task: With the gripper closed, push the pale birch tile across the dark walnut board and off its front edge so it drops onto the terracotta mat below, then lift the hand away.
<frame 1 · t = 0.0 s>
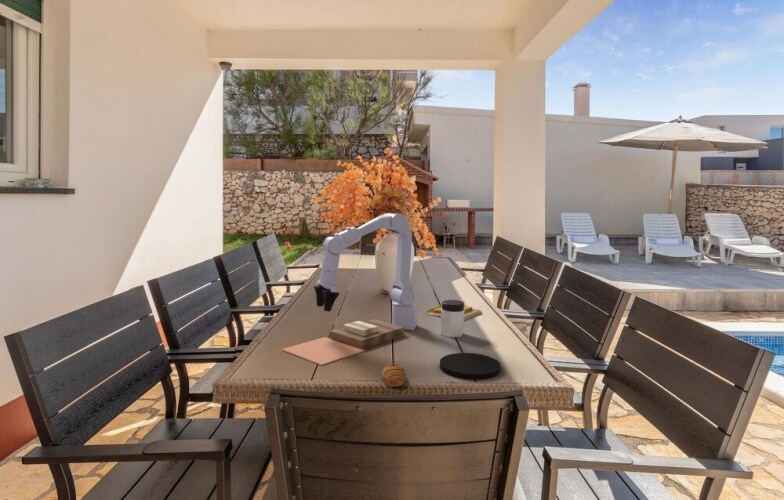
hand: (323, 308, 167), 11 cm above the table, tool pointing down, fingers open, 7 cm apart
walnut board: (367, 337, 170), on the table
birch tile: (360, 330, 167), point 3 cm above the table, touching walnut board
wooden puzzle: (453, 315, 204), on the table
jar: (452, 334, 174), on the table
pastry: (394, 381, 131), on the table
wireless charger: (469, 369, 141), on the table
terracotta mat: (323, 350, 155), on the table
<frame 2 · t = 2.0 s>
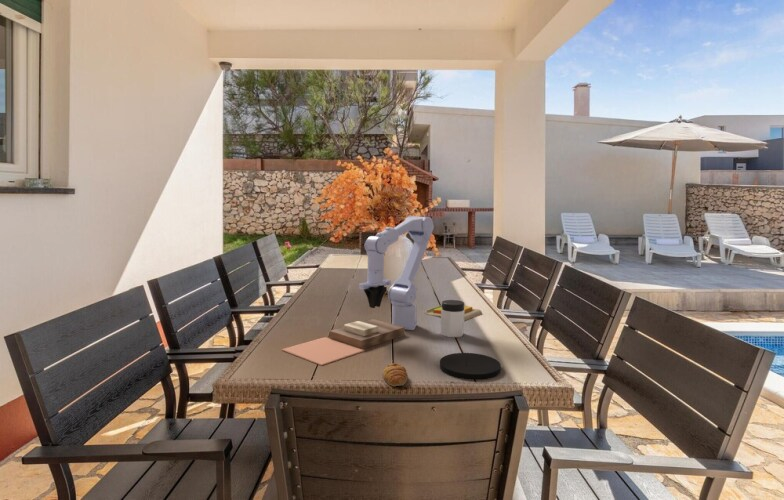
hand: (374, 306, 171), 10 cm above the table, tool pointing down, fingers closed
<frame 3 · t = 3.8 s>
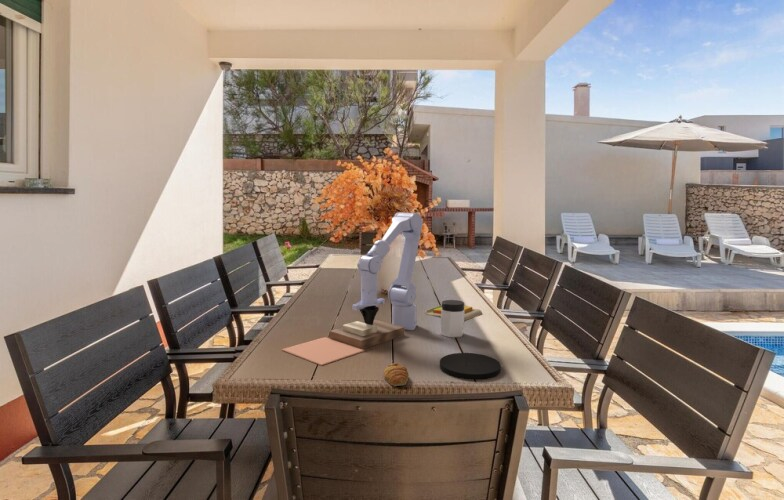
hand: (368, 326, 170), 4 cm above the table, tool pointing down, fingers closed
birch tile: (359, 331, 166), point 3 cm above the table, touching gripper, walnut board
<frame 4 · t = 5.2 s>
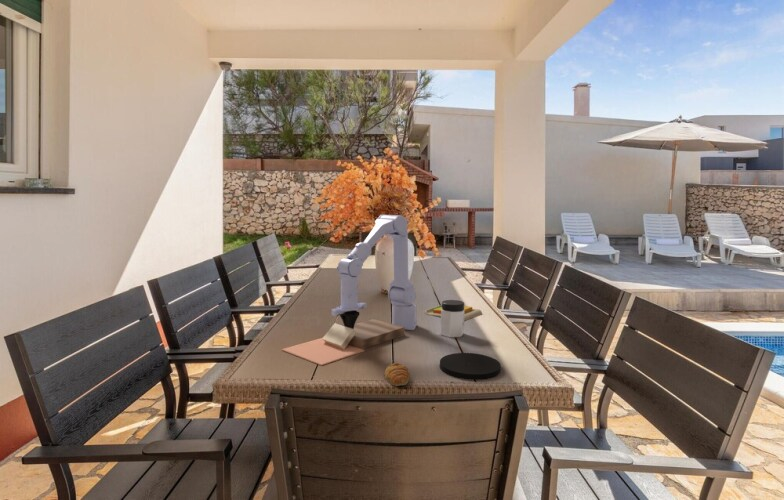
hand: (349, 332, 163), 4 cm above the table, tool pointing down, fingers closed
birch tile: (340, 337, 160), point 3 cm above the table, tilted 39°, touching gripper, terracotta mat
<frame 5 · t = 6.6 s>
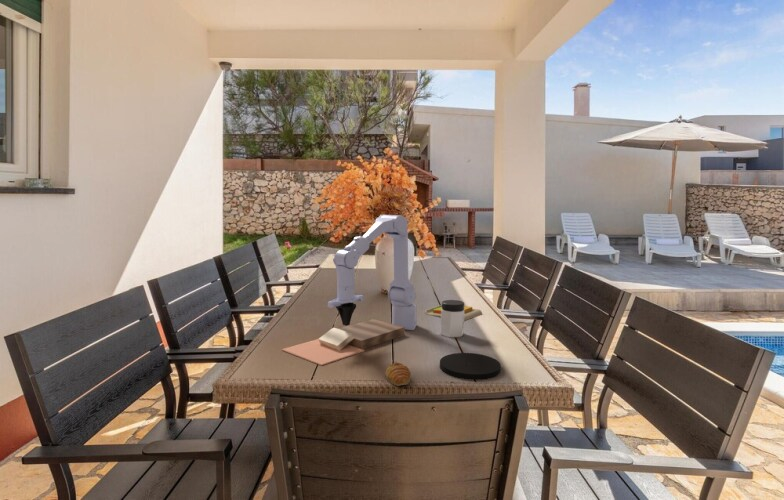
hand: (346, 324, 161), 7 cm above the table, tool pointing down, fingers closed
birch tile: (337, 341, 159), point 2 cm above the table, tilted 22°, touching terracotta mat, walnut board
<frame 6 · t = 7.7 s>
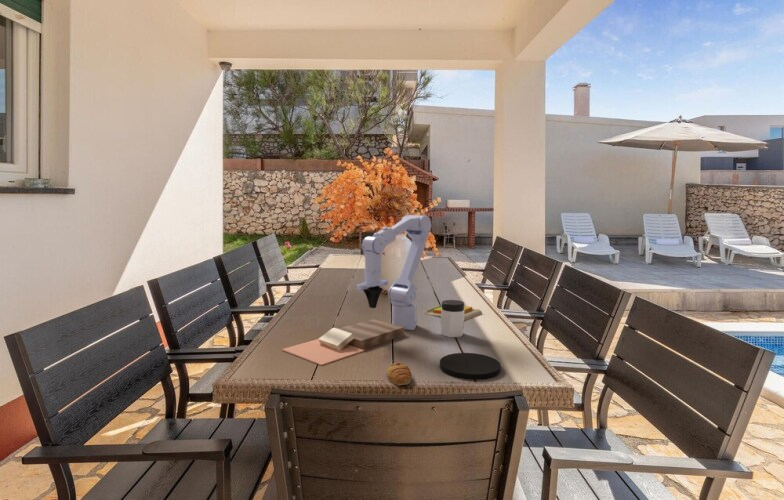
hand: (372, 307, 170), 10 cm above the table, tool pointing down, fingers closed
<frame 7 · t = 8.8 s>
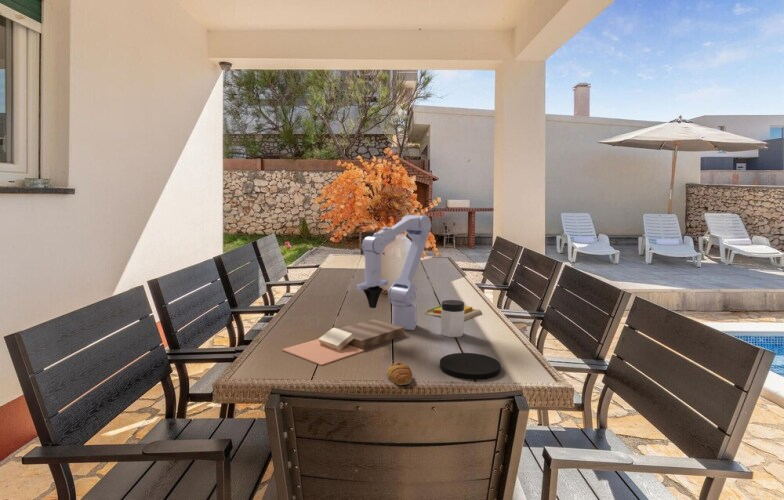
hand: (372, 307, 170), 10 cm above the table, tool pointing down, fingers closed
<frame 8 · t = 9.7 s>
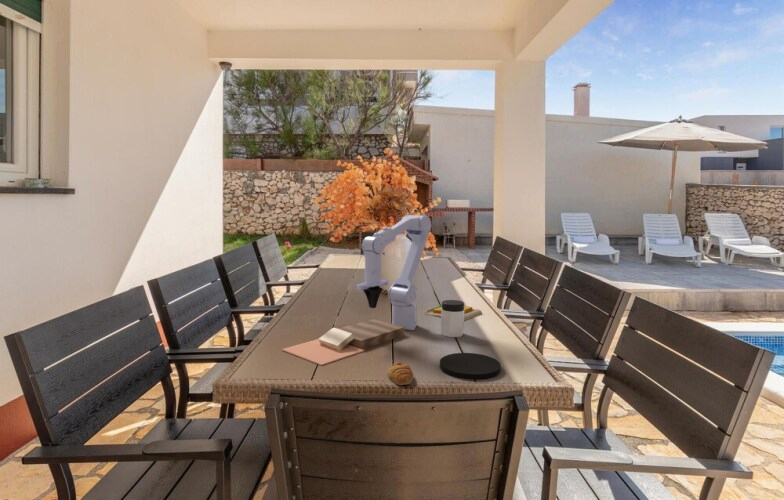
hand: (372, 307, 170), 10 cm above the table, tool pointing down, fingers closed
at the end: birch tile point 1.7 cm above the table; birch tile 6.3 cm from the terracotta mat (horizontally) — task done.
